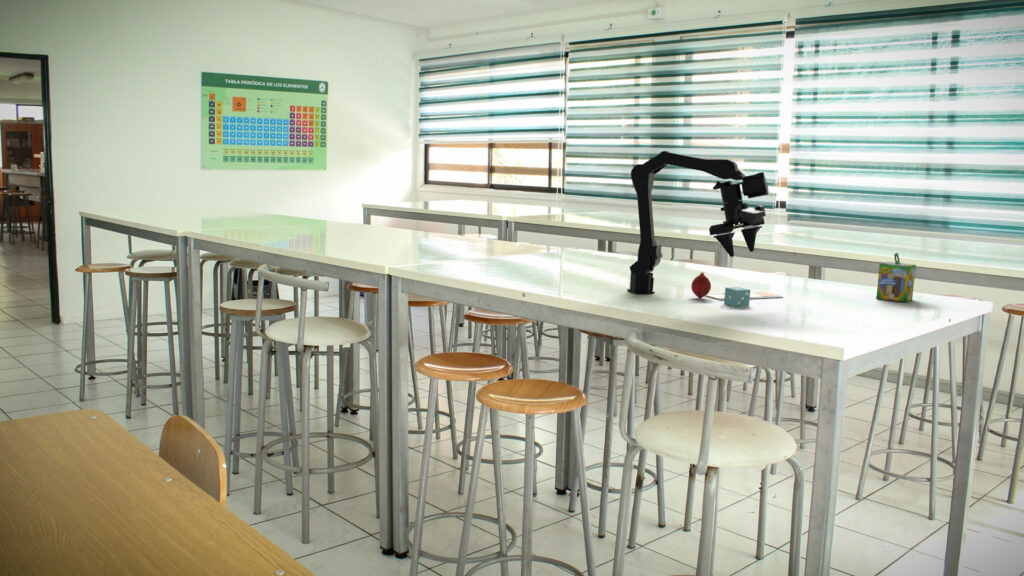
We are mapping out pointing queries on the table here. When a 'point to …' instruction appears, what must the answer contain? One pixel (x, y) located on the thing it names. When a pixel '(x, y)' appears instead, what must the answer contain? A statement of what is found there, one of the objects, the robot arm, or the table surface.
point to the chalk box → (896, 281)
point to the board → (752, 296)
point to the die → (737, 296)
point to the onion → (701, 285)
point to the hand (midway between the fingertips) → (742, 254)
